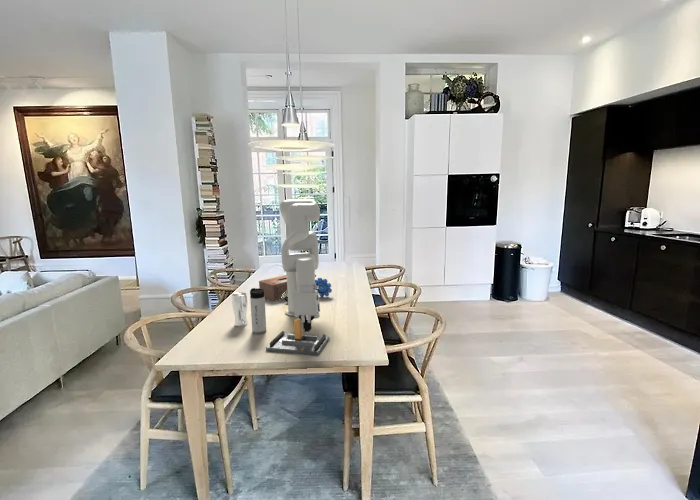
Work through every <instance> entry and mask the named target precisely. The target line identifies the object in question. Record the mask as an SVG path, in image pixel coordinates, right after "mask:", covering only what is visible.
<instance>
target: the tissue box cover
mask: <svg viewBox="0 0 700 500" xmlns="http://www.w3.org/2000/svg"><path fill="white" fill-rule="evenodd" d="M258 284H259V285H258V288H259V289H263V290H264V296H265V297H264V298H266V300H268V299H269V301H271V302H276V300H277V301H280V300H283V299H282V298H281V296H282V294H283V293H284V292H285V291H286V290H287V275H286V274H285V275H280V276H275V277H270V278H266V279H261V280H259V281H258ZM279 299H280V300H279Z"/></svg>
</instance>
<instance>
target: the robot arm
mask: <svg viewBox="0 0 700 500" xmlns="http://www.w3.org/2000/svg"><path fill="white" fill-rule="evenodd" d="M279 210H280V213H281V216H282V218H283V221H284V223H285V240H284V241H283V243H282V246H281V252H280V253H281V265H282V269H283V271H284V272H285V275H287V293H288V298H287V309H285V311H284V312H285V314H286V315H287V316H290V317H291V316H292V317H296V318H299V319H301V320H302V330H303V331H304V333H306V332H307V333H309V332H310V331H311V330H312V321H313V320H314V319H319V318H320V317H321V314H320V312H321V303H320V295H319V294H318V291H317V290H316V289H318V288H319V286H317V285H316V283H315V280H316V270H317V269H318V268H319V265H320V264H319V263H320V262H319V239H318V236H317V234H316V232H314V231H310V229H309V222H311V223H312V222H318V221H319V220H320V218H321V217H320V216H321V211H320V206H319V204H318V202H317V201H316V200H315V199H312V198H310V199H308V198H307V199H304V198H303V199H302V198H301V199H298V198H297V199H285V200H282V201H281V202H280V203H279ZM289 251H291V252H294V253H289ZM299 251H300V252H299ZM301 251H304V252H301ZM305 251H308V252H305Z"/></svg>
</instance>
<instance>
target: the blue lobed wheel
mask: <svg viewBox="0 0 700 500" xmlns="http://www.w3.org/2000/svg"><path fill="white" fill-rule="evenodd" d="M315 283H316V285H317V286H319V288H318V289H316V290H317V291H318V295H319V297H321V298H323V297H329V295H330V294H331V293H332V292H333V291H332V284H331V283H330V282H328V279H327V278H322V277H317V279H315Z"/></svg>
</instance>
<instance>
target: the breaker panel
mask: <svg viewBox="0 0 700 500" xmlns="http://www.w3.org/2000/svg"><path fill="white" fill-rule="evenodd" d="M284 332H285V331H284ZM323 335H324V334H323ZM323 335H322V334H311V333H310V334H309V333H303V336H304V340H303V341H298V340H294V338H295V334H294V332H285V333H284V334H283V335H282V336H281V337H280V338H279V339H278V340H277V341H276V342H275V343H274V344H273V345H272V346H270V343H268V345H266V347H265V351H266V352H277V353H285V354H287V353H288V354H295V355H297V354H298V355H306V356H308V355H310V356H320V354H321V352H322V351H323V349H324V347H325V346H326V344H327V343H328V342H329V340H330V335H326V337H325V339H324V340H323V341H322V343H321V344H320V346H319V347H318V348H317V349H316V350H315V349H314V347H315V345H316V344H317V343H318V341H319V340H320V338H321V337H322V336H323Z"/></svg>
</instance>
